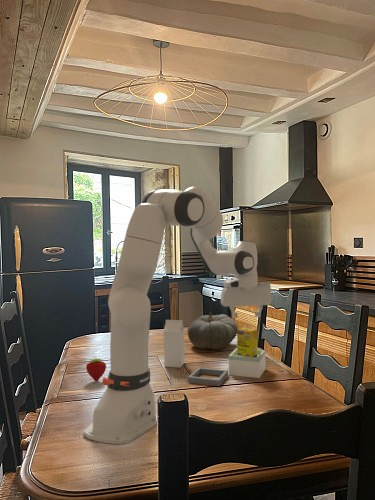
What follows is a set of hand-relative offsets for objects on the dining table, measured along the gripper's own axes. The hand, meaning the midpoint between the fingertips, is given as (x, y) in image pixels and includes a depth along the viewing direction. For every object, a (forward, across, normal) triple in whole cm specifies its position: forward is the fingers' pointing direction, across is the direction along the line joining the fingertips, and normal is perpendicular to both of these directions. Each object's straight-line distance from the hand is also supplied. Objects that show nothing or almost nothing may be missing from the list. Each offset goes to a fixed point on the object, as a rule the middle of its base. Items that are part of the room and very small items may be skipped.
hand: (246, 317), depth 159 cm
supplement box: (+16, 0, 0) cm, 16 cm away
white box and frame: (+22, +8, +2) cm, 23 cm away
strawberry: (+23, +58, -4) cm, 62 cm away
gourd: (+22, +2, -41) cm, 47 cm away
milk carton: (+22, +26, -16) cm, 38 cm away
